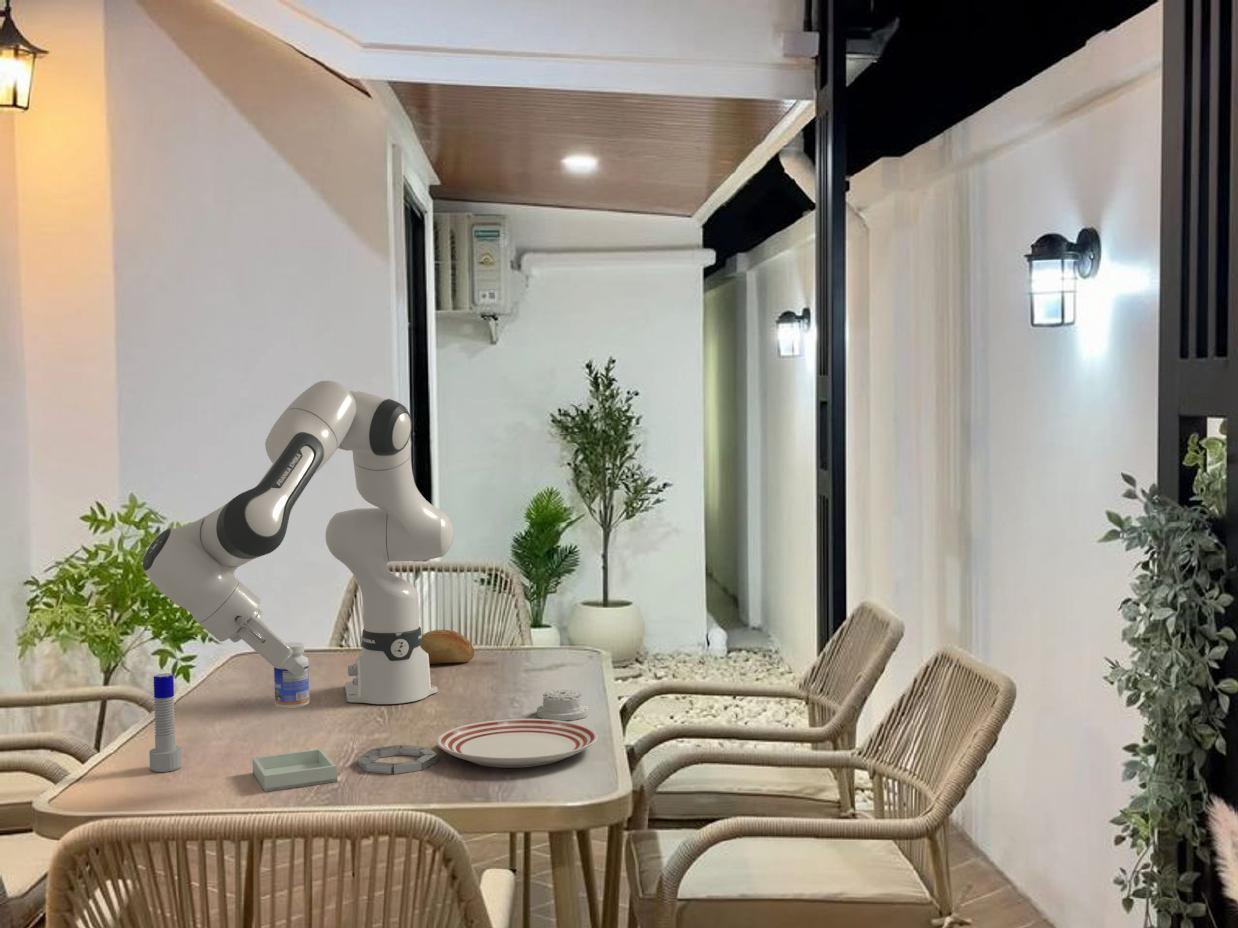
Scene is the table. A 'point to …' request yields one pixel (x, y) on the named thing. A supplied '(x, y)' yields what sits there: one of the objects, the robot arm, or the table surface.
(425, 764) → the collar
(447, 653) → the bread roll
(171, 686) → the bolt
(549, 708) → the mechanical component
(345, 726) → the table surface
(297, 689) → the pill bottle
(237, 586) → the robot arm
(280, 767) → the bin
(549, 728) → the dinner plate
